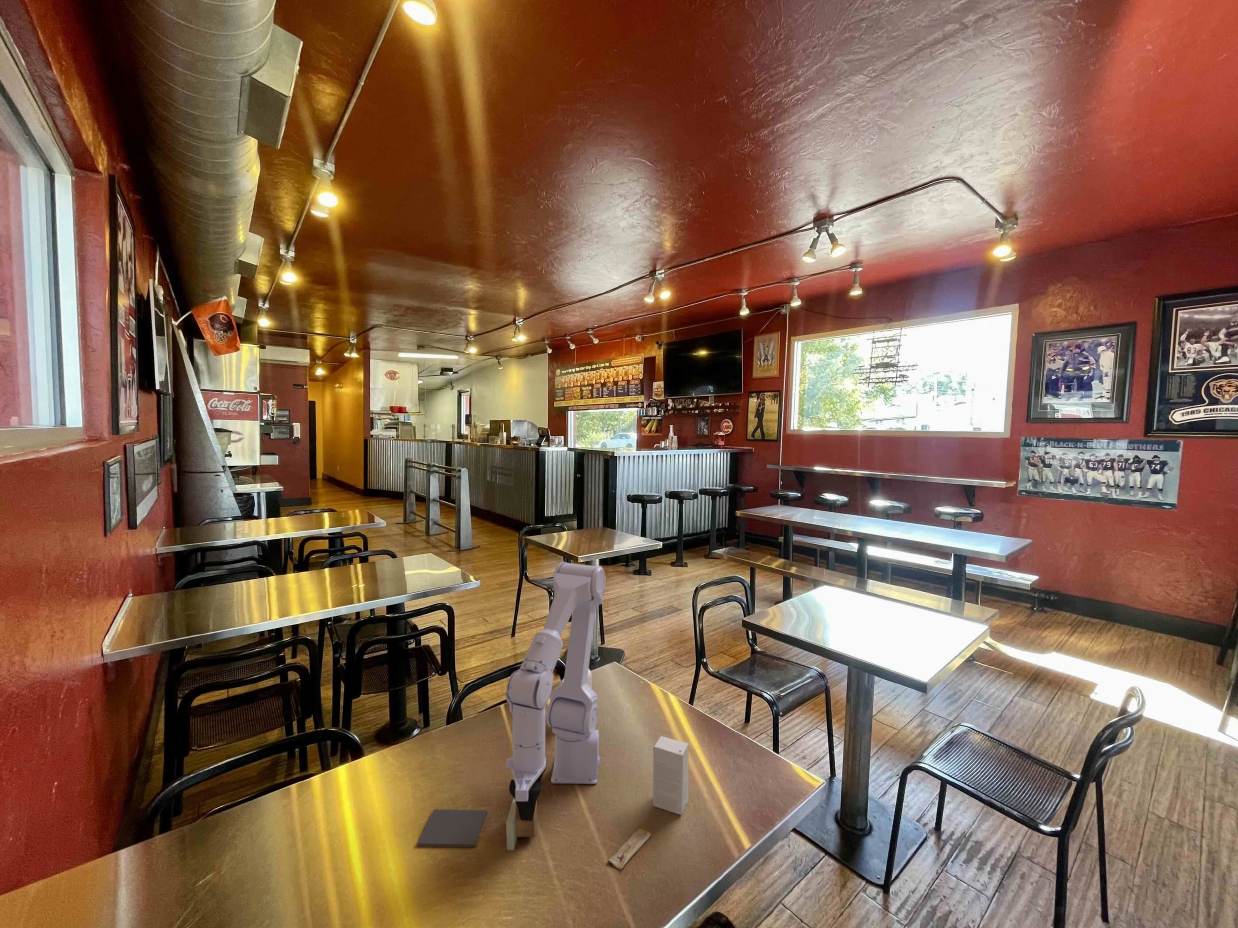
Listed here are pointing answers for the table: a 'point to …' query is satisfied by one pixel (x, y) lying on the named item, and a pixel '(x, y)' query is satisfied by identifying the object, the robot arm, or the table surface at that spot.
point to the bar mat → (452, 828)
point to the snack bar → (629, 848)
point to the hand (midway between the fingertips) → (528, 810)
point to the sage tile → (511, 827)
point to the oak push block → (525, 825)
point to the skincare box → (670, 775)
